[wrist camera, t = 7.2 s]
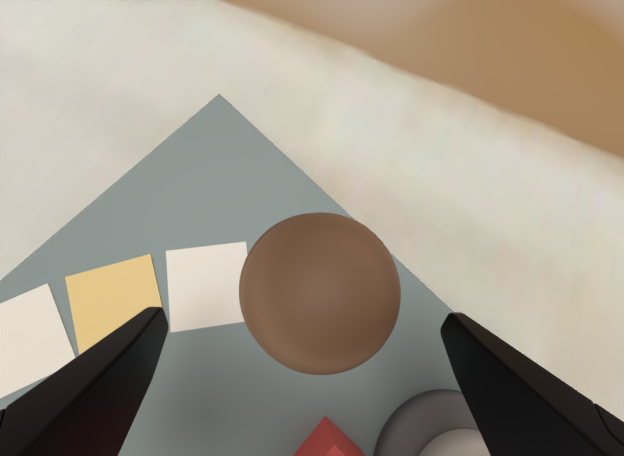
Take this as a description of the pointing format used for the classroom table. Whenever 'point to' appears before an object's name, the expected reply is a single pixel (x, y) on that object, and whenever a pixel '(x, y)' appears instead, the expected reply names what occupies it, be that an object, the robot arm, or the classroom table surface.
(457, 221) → the classroom table surface
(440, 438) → the pop dome
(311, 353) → the walnut pawn
